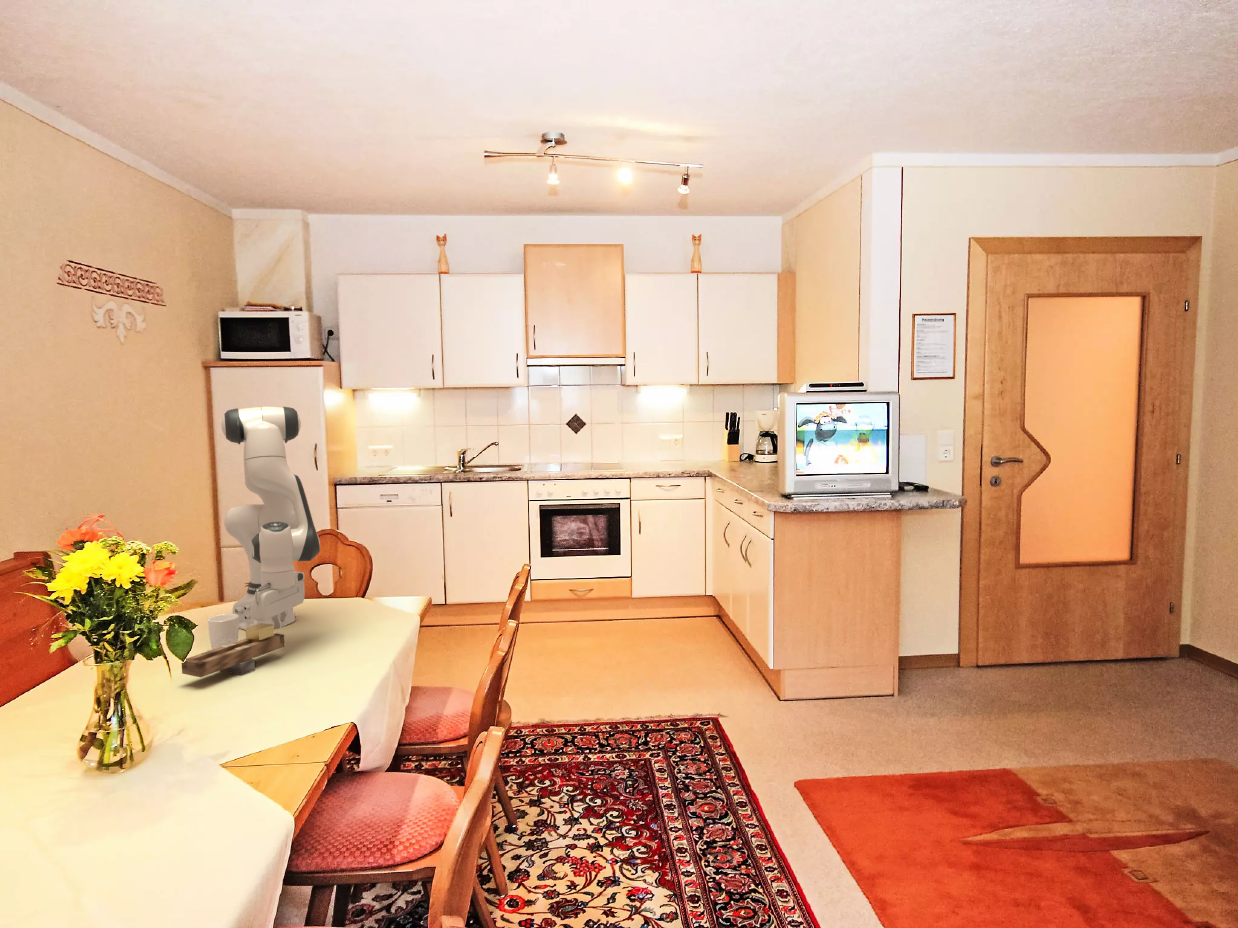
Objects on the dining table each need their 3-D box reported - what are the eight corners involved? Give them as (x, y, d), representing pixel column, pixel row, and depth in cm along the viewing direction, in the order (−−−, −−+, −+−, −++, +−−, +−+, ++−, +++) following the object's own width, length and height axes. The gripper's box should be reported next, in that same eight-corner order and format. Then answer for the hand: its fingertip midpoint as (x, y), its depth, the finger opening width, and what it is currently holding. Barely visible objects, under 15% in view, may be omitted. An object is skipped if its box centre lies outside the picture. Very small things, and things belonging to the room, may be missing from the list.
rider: (259, 648, 209) (258, 629, 209) (246, 646, 211) (245, 627, 211) (274, 643, 214) (273, 624, 213) (261, 641, 216) (260, 622, 215)
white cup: (245, 647, 225) (244, 613, 224) (229, 656, 217) (227, 621, 216) (220, 646, 226) (218, 613, 225) (203, 655, 218) (201, 621, 217)
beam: (204, 689, 192) (202, 663, 191) (180, 684, 196) (178, 659, 195) (287, 657, 216) (286, 634, 215) (264, 653, 219) (263, 630, 219)
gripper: (266, 588, 207) (268, 638, 208) (307, 572, 227) (309, 617, 228) (244, 588, 208) (247, 637, 209) (288, 571, 228) (290, 617, 229)
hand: (280, 627), depth 218 cm, fingers closed
